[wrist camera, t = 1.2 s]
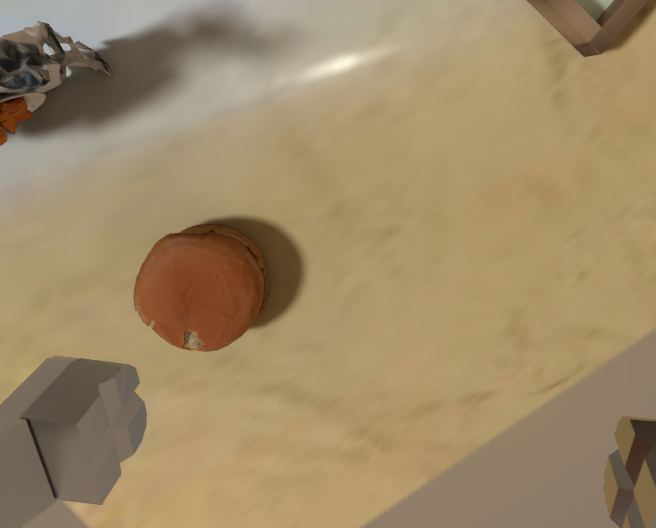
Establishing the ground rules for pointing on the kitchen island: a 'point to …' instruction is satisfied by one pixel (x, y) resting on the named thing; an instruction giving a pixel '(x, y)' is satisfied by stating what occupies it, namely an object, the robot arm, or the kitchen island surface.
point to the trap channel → (588, 20)
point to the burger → (202, 287)
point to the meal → (35, 71)
